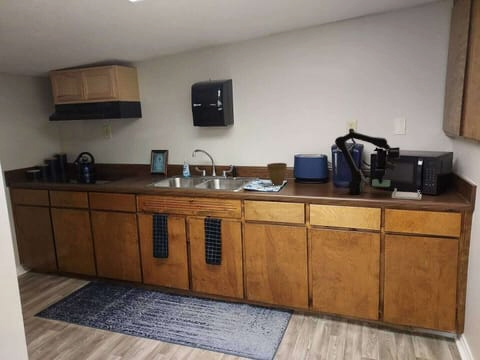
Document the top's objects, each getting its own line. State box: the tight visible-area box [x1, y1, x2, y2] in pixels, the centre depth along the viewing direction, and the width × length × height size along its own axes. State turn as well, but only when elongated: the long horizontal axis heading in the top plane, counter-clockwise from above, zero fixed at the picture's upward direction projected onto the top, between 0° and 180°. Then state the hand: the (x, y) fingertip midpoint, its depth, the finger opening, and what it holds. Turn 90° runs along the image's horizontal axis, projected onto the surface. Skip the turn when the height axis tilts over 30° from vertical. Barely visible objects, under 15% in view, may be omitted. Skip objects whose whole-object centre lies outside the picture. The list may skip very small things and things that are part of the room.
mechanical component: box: [359, 176, 371, 193], centre depth 235 cm, size 3×10×10 cm, turn 36°
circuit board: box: [371, 179, 391, 188], centre depth 224 cm, size 10×6×3 cm, turn 63°
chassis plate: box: [391, 187, 422, 201], centre depth 218 cm, size 16×12×4 cm
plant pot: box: [266, 162, 288, 186], centre depth 269 cm, size 15×15×16 cm
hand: (381, 182), depth 224 cm, fingers closed on circuit board, 6 cm apart
